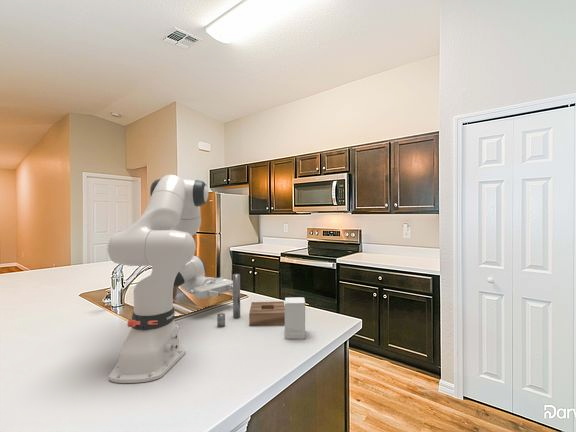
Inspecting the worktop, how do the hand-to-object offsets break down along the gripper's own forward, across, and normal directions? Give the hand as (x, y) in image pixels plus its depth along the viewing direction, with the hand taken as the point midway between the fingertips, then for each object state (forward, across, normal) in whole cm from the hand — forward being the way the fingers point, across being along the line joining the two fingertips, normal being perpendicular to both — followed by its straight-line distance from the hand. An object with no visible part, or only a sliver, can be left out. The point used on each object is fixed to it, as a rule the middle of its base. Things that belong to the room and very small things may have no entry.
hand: (227, 291), depth 128 cm
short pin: (+8, -10, +10) cm, 16 cm away
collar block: (+18, +6, +10) cm, 21 cm away
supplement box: (+35, 0, +10) cm, 37 cm away
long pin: (+6, 0, +10) cm, 11 cm away
